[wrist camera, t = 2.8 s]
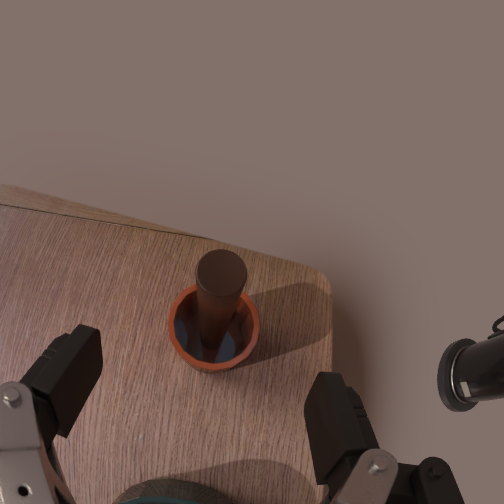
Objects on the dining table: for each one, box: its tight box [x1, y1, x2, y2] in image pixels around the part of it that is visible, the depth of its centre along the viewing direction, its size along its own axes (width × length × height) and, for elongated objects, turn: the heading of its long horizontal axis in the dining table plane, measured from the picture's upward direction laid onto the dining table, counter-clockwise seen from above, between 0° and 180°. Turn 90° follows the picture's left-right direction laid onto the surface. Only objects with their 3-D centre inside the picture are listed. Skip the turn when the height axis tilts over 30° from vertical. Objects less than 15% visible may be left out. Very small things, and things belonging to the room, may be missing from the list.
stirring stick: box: [195, 249, 247, 350], centre depth 20 cm, size 2×2×18 cm
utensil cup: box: [167, 284, 260, 374], centre depth 25 cm, size 7×7×8 cm
